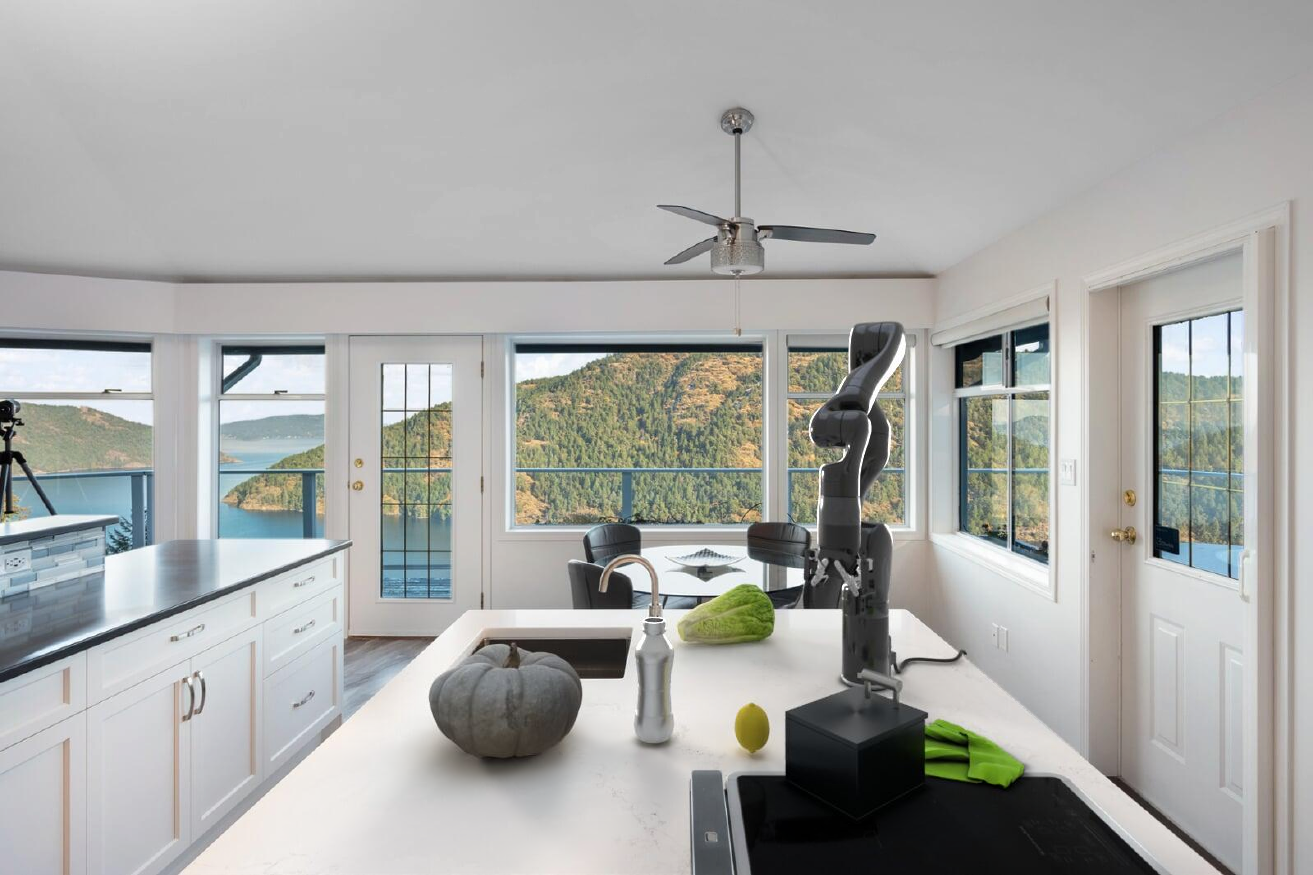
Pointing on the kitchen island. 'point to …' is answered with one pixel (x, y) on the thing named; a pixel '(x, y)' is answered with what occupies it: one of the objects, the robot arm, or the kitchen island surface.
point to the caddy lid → (859, 712)
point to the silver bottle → (654, 683)
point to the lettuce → (730, 618)
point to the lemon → (752, 727)
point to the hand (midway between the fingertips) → (837, 611)
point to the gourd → (506, 701)
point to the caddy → (855, 770)
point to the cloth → (967, 756)
